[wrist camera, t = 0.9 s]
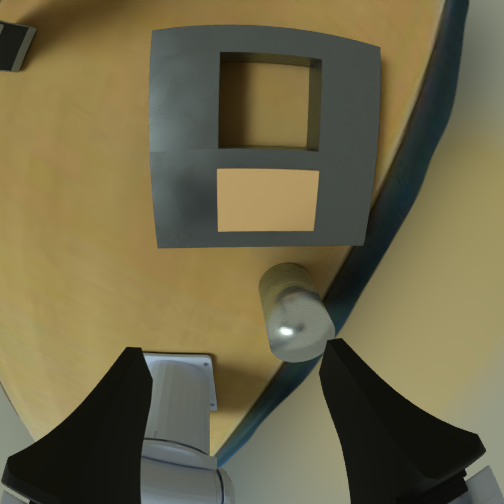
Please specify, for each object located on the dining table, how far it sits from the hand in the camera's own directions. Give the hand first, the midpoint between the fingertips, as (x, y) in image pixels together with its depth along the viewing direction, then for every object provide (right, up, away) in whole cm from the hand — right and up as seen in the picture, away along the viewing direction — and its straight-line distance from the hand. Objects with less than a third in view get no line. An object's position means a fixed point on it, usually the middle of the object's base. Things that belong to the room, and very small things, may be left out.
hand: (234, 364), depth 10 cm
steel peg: (+3, +2, +11) cm, 12 cm away
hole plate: (+1, +12, +6) cm, 13 cm away
